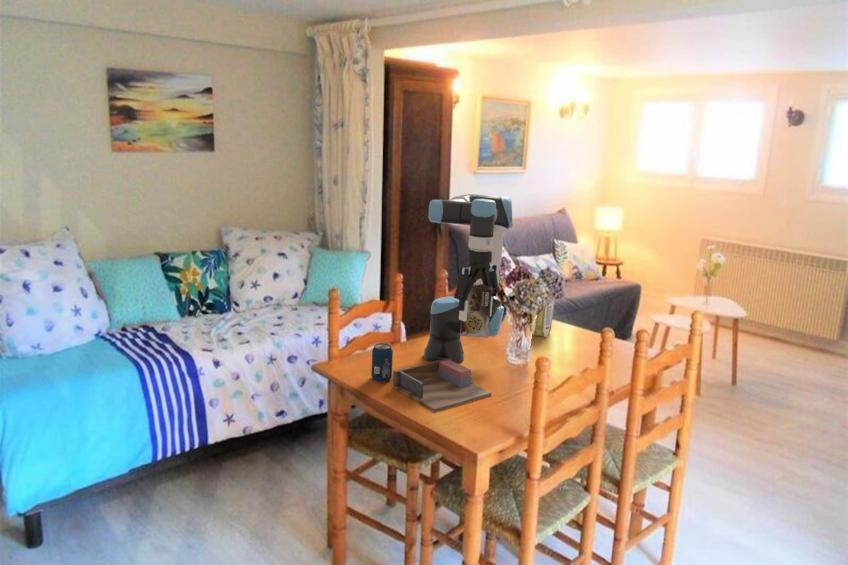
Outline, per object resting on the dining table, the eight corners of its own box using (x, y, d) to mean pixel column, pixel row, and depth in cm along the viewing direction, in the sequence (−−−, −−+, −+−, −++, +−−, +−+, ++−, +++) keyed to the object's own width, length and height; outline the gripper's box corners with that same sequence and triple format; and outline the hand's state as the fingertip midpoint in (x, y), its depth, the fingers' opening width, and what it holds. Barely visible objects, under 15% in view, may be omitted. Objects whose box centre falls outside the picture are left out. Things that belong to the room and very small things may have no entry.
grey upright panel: (398, 385, 209) (398, 371, 208) (400, 385, 209) (400, 371, 208) (420, 398, 200) (421, 383, 199) (422, 397, 200) (423, 383, 199)
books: (437, 375, 219) (438, 362, 218) (448, 372, 222) (449, 359, 221) (460, 387, 210) (461, 373, 209) (471, 384, 213) (472, 370, 212)
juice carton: (551, 333, 277) (556, 291, 272) (547, 338, 269) (551, 295, 265) (534, 330, 280) (538, 288, 275) (529, 335, 272) (533, 292, 268)
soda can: (378, 373, 221) (379, 341, 218) (395, 378, 218) (396, 345, 215) (367, 380, 215) (368, 346, 212) (384, 384, 212) (386, 350, 209)
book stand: (392, 387, 210) (393, 370, 208) (447, 373, 224) (448, 357, 223) (434, 412, 193) (435, 394, 191) (491, 395, 208) (492, 378, 206)
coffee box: (488, 332, 206) (492, 284, 202) (488, 338, 200) (492, 288, 196) (460, 330, 206) (463, 282, 203) (459, 336, 200) (463, 286, 197)
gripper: (462, 254, 187) (457, 326, 192) (514, 248, 201) (508, 315, 206) (444, 250, 192) (440, 320, 197) (496, 244, 207) (491, 310, 212)
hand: (475, 317), depth 202 cm, fingers closed on coffee box, 10 cm apart
